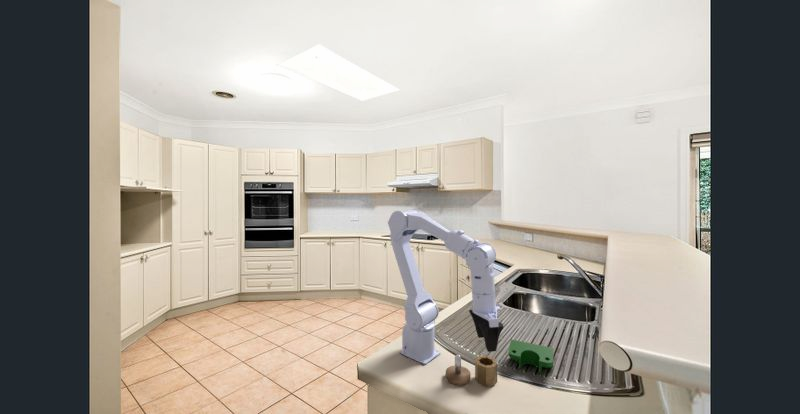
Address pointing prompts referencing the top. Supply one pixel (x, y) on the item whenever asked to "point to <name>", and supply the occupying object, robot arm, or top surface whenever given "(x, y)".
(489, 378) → the bronze collar
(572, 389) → the top surface
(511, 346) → the clamp
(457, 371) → the steel post
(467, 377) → the walnut stand
